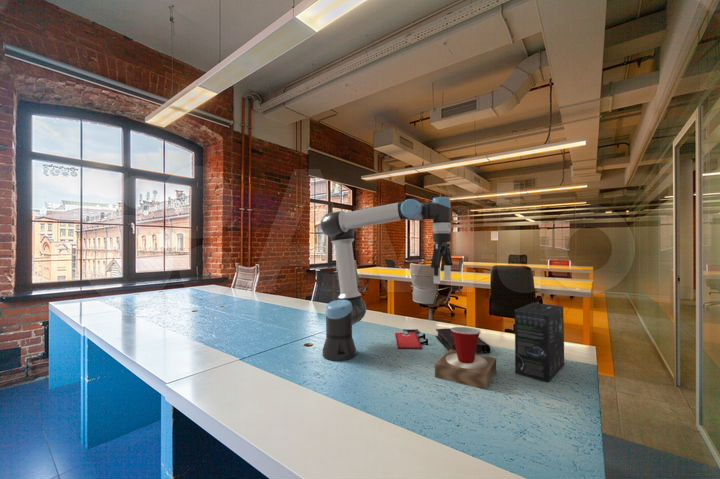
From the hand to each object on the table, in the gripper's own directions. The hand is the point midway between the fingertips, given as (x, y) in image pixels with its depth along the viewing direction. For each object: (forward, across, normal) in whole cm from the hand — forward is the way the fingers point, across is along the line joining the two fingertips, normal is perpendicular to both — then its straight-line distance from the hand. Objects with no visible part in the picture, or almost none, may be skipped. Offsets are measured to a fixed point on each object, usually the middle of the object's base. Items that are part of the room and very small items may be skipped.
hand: (442, 281), depth 134 cm
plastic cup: (+28, -12, -13) cm, 33 cm away
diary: (+33, +20, -2) cm, 39 cm away
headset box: (+33, +8, -36) cm, 49 cm away
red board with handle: (+33, +15, +22) cm, 43 cm away
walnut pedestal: (+33, -12, -13) cm, 37 cm away
